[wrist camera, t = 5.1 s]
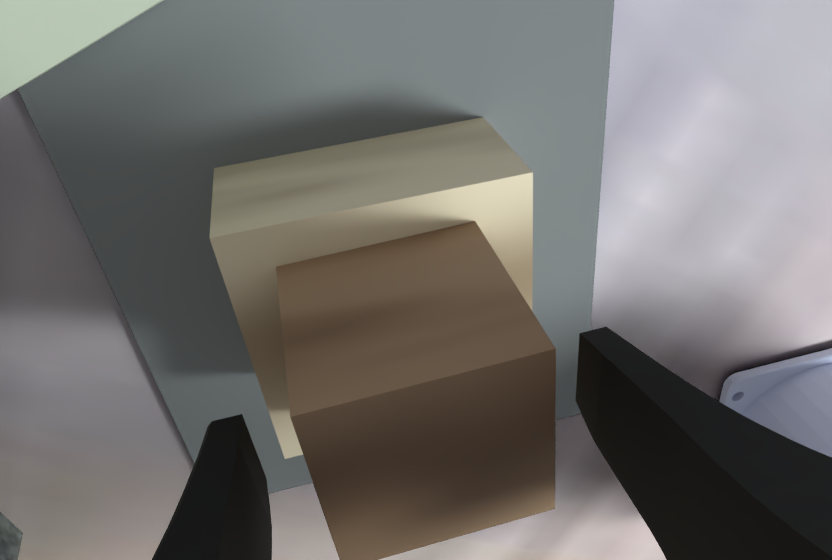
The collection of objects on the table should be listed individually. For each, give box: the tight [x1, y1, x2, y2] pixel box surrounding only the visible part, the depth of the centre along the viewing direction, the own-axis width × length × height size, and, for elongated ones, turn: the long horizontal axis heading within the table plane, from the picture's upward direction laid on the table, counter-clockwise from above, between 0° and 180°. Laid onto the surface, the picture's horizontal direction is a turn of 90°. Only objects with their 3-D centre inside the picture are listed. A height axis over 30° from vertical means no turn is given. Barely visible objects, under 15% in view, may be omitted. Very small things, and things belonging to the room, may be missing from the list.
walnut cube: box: [276, 221, 556, 560], centre depth 14 cm, size 4×4×4 cm
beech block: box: [209, 117, 533, 459], centre depth 17 cm, size 7×7×4 cm
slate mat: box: [18, 0, 614, 494], centre depth 19 cm, size 18×14×1 cm
